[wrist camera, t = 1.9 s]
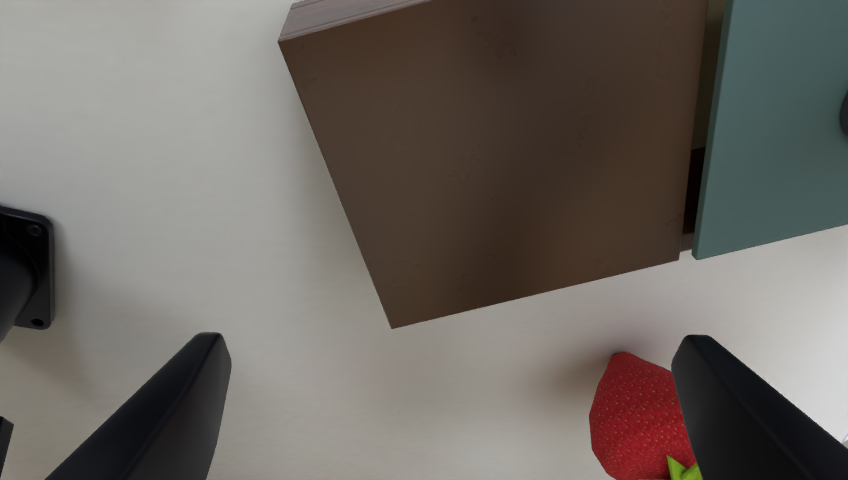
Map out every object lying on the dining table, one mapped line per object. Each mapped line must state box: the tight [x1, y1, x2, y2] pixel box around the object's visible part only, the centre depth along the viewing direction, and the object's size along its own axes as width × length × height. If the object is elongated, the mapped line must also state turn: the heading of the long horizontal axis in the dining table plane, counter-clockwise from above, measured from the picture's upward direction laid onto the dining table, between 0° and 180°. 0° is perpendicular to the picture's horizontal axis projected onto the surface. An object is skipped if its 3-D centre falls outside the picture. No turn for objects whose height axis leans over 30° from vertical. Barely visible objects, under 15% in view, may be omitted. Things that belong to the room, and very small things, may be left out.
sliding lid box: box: [278, 0, 726, 329], centre depth 19 cm, size 24×12×4 cm, turn 103°
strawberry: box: [589, 352, 703, 480], centre depth 27 cm, size 6×8×10 cm
